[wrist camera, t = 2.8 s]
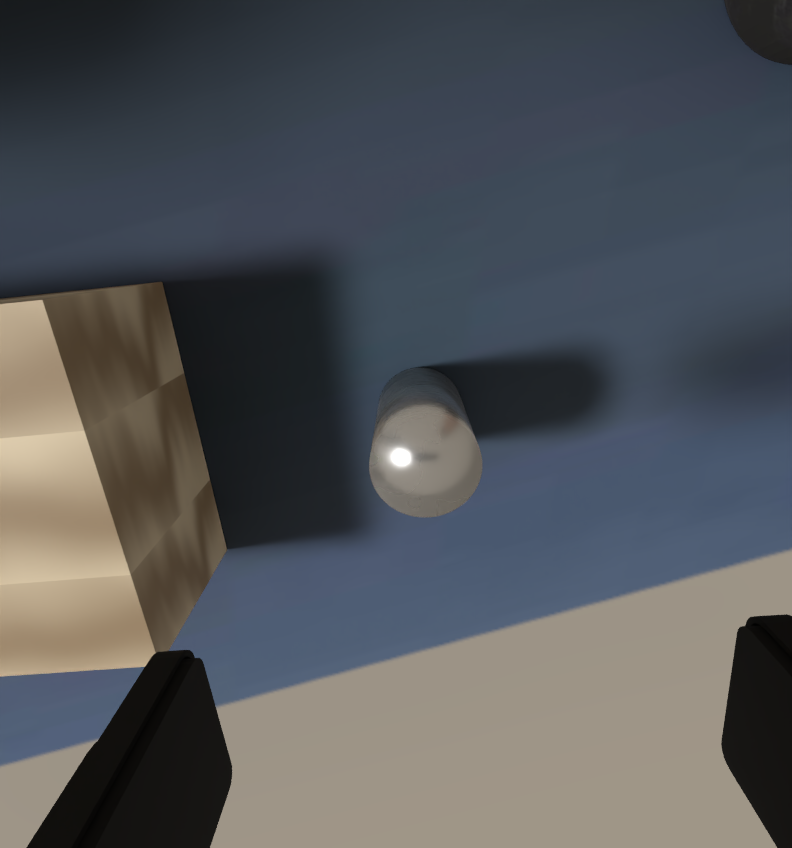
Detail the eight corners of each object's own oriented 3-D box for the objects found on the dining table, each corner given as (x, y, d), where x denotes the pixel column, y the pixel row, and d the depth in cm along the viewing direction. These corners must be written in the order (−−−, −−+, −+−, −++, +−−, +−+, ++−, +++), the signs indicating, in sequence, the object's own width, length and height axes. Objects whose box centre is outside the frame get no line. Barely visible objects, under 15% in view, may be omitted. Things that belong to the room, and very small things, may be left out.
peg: (374, 371, 24) (362, 419, 17) (458, 363, 24) (479, 408, 17) (383, 449, 25) (375, 521, 19) (463, 442, 25) (484, 513, 19)
